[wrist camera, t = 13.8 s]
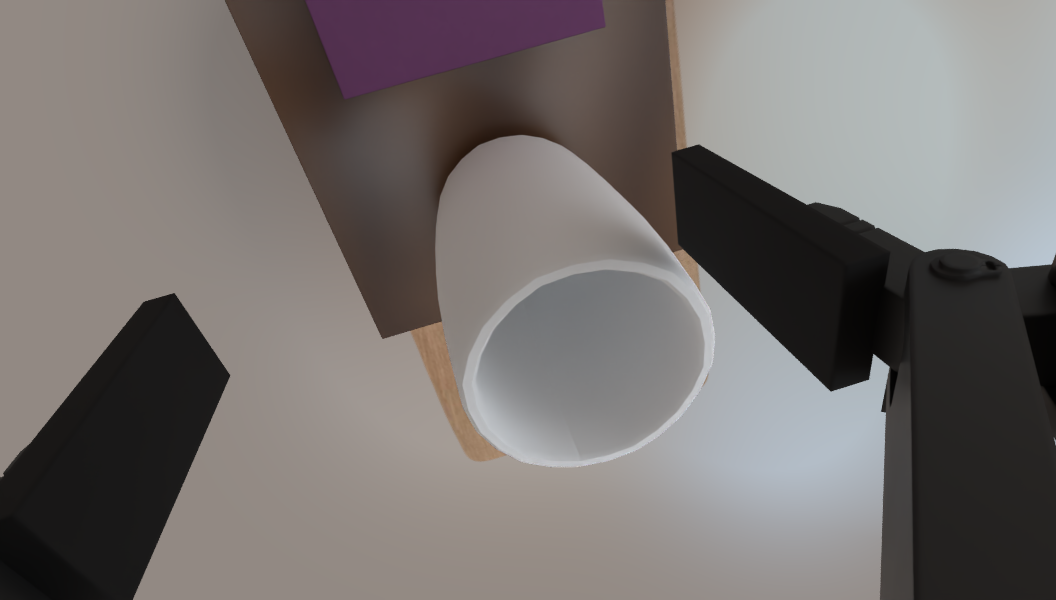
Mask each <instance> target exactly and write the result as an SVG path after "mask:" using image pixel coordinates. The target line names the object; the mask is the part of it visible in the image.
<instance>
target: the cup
mask: <svg viewBox="0 0 1056 600" xmlns="http://www.w3.org/2000/svg"><path fill="white" fill-rule="evenodd" d="M435 257H436V279H437V291H438V301H439V307H440V313H441V318H442V324H443V330H444V335H445V340H446V344H447V348H448V352H449V357H450V361H451V365H452V368H453V372H454V376H455V380H456V384H457V387H458V391H459V395H460V399H461V403H462V406H463V409H464V411H465V413H466V414H467V416H468V418H469V420H470V422H471V423H472V425H473V427H474V429H475V430H476V432H477V433H479V434H480V435H481V436H482V437H483V438H484V439H485V440H486V441H488V442H489V443H490V444H491V445H492V446H493V447H494V448H495V449H497V450H499V451H501V452H503V453H505V454H507V455H508V456H510V457H512V458H514V459H516V460H518V461H520V462H524V463H530V464H536V465H542V466H548V467H580V466H585V465H591V464H595V463H601V462H605V461H609V460H612V459H615V458H618V457H620V456H623V455H626V454H629V453H631V452H634V451H637V450H638V449H640V448H641V447H643V446H644V445H646V444H647V443H649V442H650V441H651V440H653V439H655V438H656V437H658V436H659V435H661V434H662V433H663V432H664V431H665V430H666V429H668V428H669V427H670V426H671V425H672V424H673V423H674V422H675V421H676V420H677V419H678V418H680V417H681V416H682V415H683V413H684V412H685V411H686V409H687V408H688V407H689V405H690V404H691V403H692V401H693V400H694V398H695V397H696V396H697V394H698V393H699V391H700V389H701V387H702V385H703V383H704V381H705V379H706V377H707V375H708V372H709V370H710V368H711V366H712V364H713V357H714V345H715V332H714V327H713V322H712V316H711V310H710V308H709V306H708V305H707V303H706V302H705V300H704V298H703V296H702V295H701V293H700V291H699V289H698V288H697V286H696V285H695V283H694V282H693V280H692V279H691V278H690V276H689V275H688V273H687V272H686V271H685V269H684V268H683V266H682V265H681V264H680V262H679V261H678V259H677V258H676V257H675V255H674V254H673V252H672V251H671V250H670V248H669V247H668V245H667V244H666V243H665V242H664V241H663V240H662V238H661V237H660V236H659V235H658V234H657V232H656V231H655V230H654V229H653V228H652V227H651V225H650V224H649V223H648V222H647V221H646V220H645V218H644V217H643V216H642V215H641V214H640V213H639V212H638V211H637V210H636V209H635V208H634V207H633V206H632V205H631V204H630V203H629V202H628V201H627V200H625V199H624V198H623V197H622V196H621V195H620V194H619V193H618V192H617V191H616V190H615V189H614V188H613V187H612V186H611V185H610V184H609V183H608V182H607V181H606V180H605V179H603V178H602V177H601V176H600V175H599V174H598V173H597V172H596V171H594V170H593V169H592V168H591V167H590V166H589V165H588V164H586V163H585V162H584V161H583V160H581V159H580V158H579V157H577V156H576V155H575V154H573V153H572V152H571V151H569V150H568V149H566V148H565V147H563V146H561V145H559V144H556V143H554V142H551V141H549V140H546V139H544V138H539V137H533V136H526V135H516V136H508V137H500V138H497V139H494V140H491V141H489V142H486V143H483V144H480V145H478V146H477V147H476V148H475V149H473V150H472V151H471V152H470V153H468V154H467V155H466V156H465V157H464V158H462V159H461V161H460V162H459V163H458V164H457V166H456V167H455V168H454V170H453V171H452V172H451V173H450V175H449V176H448V178H447V181H446V183H445V186H444V188H443V190H442V193H441V195H440V201H439V207H438V213H437V222H436V241H435Z"/></svg>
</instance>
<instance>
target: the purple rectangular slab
mask: <svg viewBox="0 0 1056 600" xmlns="http://www.w3.org/2000/svg"><path fill="white" fill-rule="evenodd" d="M305 2H306V4H307V7H308V9H309V12H310V14H311V17H312V19H313V22H314V25H315V27H316V30H317V32H318V35H319V37H320V40H321V42H322V45H323V47H324V50H325V52H326V55H327V57H328V60H329V62H330V65H331V68H332V70H333V73H334V75H335V78H336V80H337V83H338V85H339V88H340V90H341V93H342V95H343V98H344V99H349V98H352V97H356V96H360V95H363V94H367V93H370V92H374V91H378V90H381V89H385V88H388V87H392V86H395V85H399V84H403V83H406V82H410V81H413V80H417V79H421V78H424V77H428V76H431V75H435V74H439V73H442V72H446V71H449V70H453V69H457V68H460V67H464V66H467V65H471V64H474V63H478V62H482V61H485V60H489V59H492V58H496V57H500V56H503V55H507V54H510V53H514V52H518V51H521V50H525V49H528V48H532V47H535V46H539V45H543V44H546V43H550V42H553V41H557V40H561V39H564V38H568V37H571V36H575V35H579V34H582V33H586V32H589V31H593V30H596V29H600V28H604V27H605V26H606V25H605V17H604V10H603V2H602V0H305Z"/></svg>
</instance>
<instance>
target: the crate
mask: <svg viewBox="0 0 1056 600" xmlns="http://www.w3.org/2000/svg"><path fill="white" fill-rule="evenodd" d="M225 2H226V4H227V6H228V8H229V10H230V12H231V14H232V17H233V19H234V21H235V23H236V25H237V27H238V29H239V32H240V34H241V36H242V38H243V40H244V43H245V45H246V47H247V49H248V51H249V53H250V55H251V58H252V60H253V62H254V64H255V66H256V68H257V71H258V73H259V74H260V77H261V79H262V81H263V83H264V86H265V88H266V90H267V92H268V94H269V96H270V98H271V101H272V103H273V105H274V107H275V109H276V111H277V113H278V116H279V118H280V120H281V122H282V124H283V126H284V128H285V131H286V133H287V135H288V137H289V139H290V141H291V143H292V146H293V148H294V150H295V152H296V154H297V156H298V159H299V161H300V163H301V165H302V167H303V169H304V171H305V173H306V176H307V178H308V180H309V182H310V184H311V186H312V189H313V191H314V193H315V195H316V197H317V199H318V201H319V204H320V206H321V208H322V210H323V212H324V214H325V217H326V219H327V221H328V223H329V225H330V227H331V229H332V232H333V234H334V236H335V238H336V240H337V242H338V245H339V247H340V249H341V251H342V253H343V255H344V257H345V259H346V262H347V264H348V266H349V268H350V270H351V272H352V274H353V277H354V279H355V281H356V283H357V285H358V288H359V290H360V292H361V294H362V296H363V298H364V300H365V303H366V305H367V307H368V309H369V311H370V313H371V315H372V318H373V320H374V322H375V324H376V326H377V328H378V331H379V333H380V335H381V337H382V338H383V339H384V338H387V337H390V336H394V335H397V334H400V333H404V332H407V331H411V330H414V329H417V328H421V327H424V326H427V325H431V324H434V323H437V322H441V321H442V318H441V313H440V307H439V301H438V291H437V279H436V257H435V241H436V222H437V213H438V207H439V201H440V195H441V193H442V190H443V188H444V186H445V183H446V181H447V178H448V176H449V175H450V173H451V172H452V171H453V170H454V168H455V167H456V166H457V164H458V163H459V162H460V161H461V159H462V158H464V157H465V156H466V155H467V154H468V153H470V152H471V151H472V150H473V149H475V148H476V147H477V146H478V145H480V144H483V143H486V142H489V141H491V140H494V139H497V138H500V137H508V136H516V135H526V136H533V137H539V138H544V139H546V140H549V141H551V142H554V143H556V144H559V145H561V146H563V147H565V148H566V149H568V150H569V151H571V152H572V153H573V154H575V155H576V156H577V157H579V158H580V159H581V160H583V161H584V162H585V163H586V164H588V165H589V166H590V167H591V168H592V169H593V170H594V171H596V172H597V173H598V174H599V175H600V176H601V177H602V178H603V179H605V180H606V181H607V182H608V183H609V184H610V185H611V186H612V187H613V188H614V189H615V190H616V191H617V192H618V193H619V194H620V195H621V196H622V197H623V198H624V199H625V200H627V201H628V202H629V203H630V204H631V205H632V206H633V207H634V208H635V209H636V210H637V211H638V212H639V213H640V214H641V215H642V216H643V217H644V218H645V220H646V221H647V222H648V223H649V224H650V225H651V227H652V228H653V229H654V230H655V231H656V232H657V234H658V235H659V236H660V237H661V238H662V240H663V241H664V242H665V243H666V244H667V245H668V247H669V248H670V250H671V251H672V252H675V251H679V250H682V249H683V248H682V247H680V246H679V245H678V237H677V223H676V209H675V195H674V182H673V168H672V154H671V152H674V151H677V143H676V130H675V118H674V105H673V93H672V80H671V67H670V55H669V42H668V29H667V17H666V4H665V0H602V2H603V10H604V17H605V25H606V26H605V27H604V28H600V29H596V30H593V31H589V32H586V33H582V34H579V35H575V36H571V37H568V38H564V39H561V40H557V41H553V42H550V43H546V44H543V45H539V46H535V47H532V48H528V49H525V50H521V51H518V52H514V53H510V54H507V55H503V56H500V57H496V58H492V59H489V60H485V61H482V62H478V63H474V64H471V65H467V66H464V67H460V68H457V69H453V70H449V71H446V72H442V73H439V74H435V75H431V76H428V77H424V78H421V79H417V80H413V81H410V82H406V83H403V84H399V85H395V86H392V87H388V88H385V89H381V90H378V91H374V92H370V93H367V94H363V95H360V96H356V97H352V98H349V99H344V98H343V95H342V93H341V90H340V88H339V85H338V83H337V80H336V78H335V75H334V73H333V70H332V68H331V65H330V62H329V60H328V57H327V55H326V52H325V50H324V47H323V45H322V42H321V40H320V37H319V35H318V32H317V30H316V27H315V25H314V22H313V19H312V17H311V14H310V12H309V9H308V7H307V4H306V2H305V0H225Z"/></svg>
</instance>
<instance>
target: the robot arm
mask: <svg viewBox="0 0 1056 600" xmlns="http://www.w3.org/2000/svg"><path fill="white" fill-rule="evenodd" d="M671 154H672V168H673V182H674V195H675V209H676V223H677V237H678V245H679V246H680V247H682V248H683V249H684V250H685V251H686V252H687V253H688V254H689V255H690V256H691V257H692V258H693V259H694V260H695V261H696V262H697V263H698V264H699V265H700V266H701V267H702V268H703V269H704V270H705V271H706V272H708V274H710V275H711V276H712V277H713V278H714V279H715V280H716V281H717V282H718V283H719V284H720V285H721V286H722V287H723V288H724V289H725V290H726V291H727V292H728V293H729V294H730V295H731V296H732V297H733V298H734V299H735V300H737V301H738V302H739V303H740V304H741V305H742V306H743V307H744V308H745V309H746V310H747V311H748V312H749V313H750V314H751V315H752V316H753V317H754V318H755V319H756V320H757V321H758V322H759V323H760V324H761V325H763V327H765V328H766V329H767V330H768V331H769V332H770V333H771V334H772V335H773V336H774V337H775V338H776V339H777V340H778V341H779V342H780V343H781V344H782V345H783V346H784V347H785V348H786V349H787V350H788V351H789V352H791V353H792V354H793V355H794V356H795V357H796V358H797V359H798V360H799V361H800V362H801V363H802V364H803V365H804V366H805V367H806V368H807V369H808V370H809V371H810V372H811V373H812V374H813V375H814V376H815V377H816V378H817V379H819V381H821V382H822V383H823V384H824V385H825V386H826V387H827V388H828V389H829V390H830V391H834V390H837V389H841V388H844V387H847V386H850V385H853V384H856V383H859V382H863V381H866V380H869V376H870V370H871V364H872V358H873V354H874V355H876V356H877V357H878V358H879V359H881V360H882V361H883V362H884V363H886V364H887V365H888V366H889V367H890V368H889V373H888V379H887V384H886V389H885V394H884V399H883V405H882V410H881V412H886V428H885V429H886V430H885V459H884V492H883V493H884V494H883V523H882V525H883V526H882V556H881V588H880V600H1056V445H1055V441H1054V438H1055V440H1056V255H1055V258H1054V260H1053V263H1052V265H1042V266H1030V267H1019V268H1008V267H1007V266H1006V264H1005V263H1003V262H1001V261H999V260H998V259H995V258H994V257H992V256H989V255H985V254H982V253H979V252H975V251H968V250H960V249H938V250H933V251H929V252H923V251H921V250H919V249H917V248H916V247H914V246H912V245H910V244H908V243H906V242H904V241H902V240H900V239H898V238H897V237H895V236H893V235H891V234H889V233H887V232H885V231H883V230H881V229H879V228H876V229H875V227H874V225H871V224H870V223H868V222H866V221H864V220H859V218H858V217H857V216H854V215H852V214H851V213H849V212H847V211H845V210H843V209H841V208H837V207H833V206H829V205H825V204H821V203H812V204H809V205H806V204H804V203H803V202H801V201H799V200H797V199H795V198H793V197H792V196H790V195H788V194H786V193H785V192H783V191H781V190H779V189H777V188H776V187H774V186H772V185H770V184H769V183H767V182H765V181H763V180H761V179H759V178H758V177H756V176H754V175H752V174H751V173H749V172H747V171H745V170H743V169H742V168H740V167H738V166H736V165H735V164H733V163H731V162H729V161H727V160H726V159H724V158H722V157H720V156H718V155H717V154H715V153H713V152H711V151H709V150H708V149H706V148H704V147H702V146H701V145H695V146H692V147H688V148H685V149H681V150H678V151H674V152H671ZM229 377H230V374H229V373H228V371H227V370H226V368H225V367H224V365H223V364H222V362H221V361H220V360H219V358H218V357H217V355H216V354H215V352H214V351H213V349H212V348H211V346H210V345H209V343H208V342H207V340H206V339H205V337H204V336H203V334H202V333H201V332H200V330H199V329H198V327H197V326H196V324H195V323H194V321H193V320H192V318H191V317H190V316H189V314H188V312H187V311H186V310H185V308H184V307H183V305H182V304H181V302H180V301H179V299H178V298H177V296H176V295H175V293H173V294H170V295H166V296H163V297H159V298H156V299H152V300H148V301H145V302H143V303H142V305H141V306H140V308H139V309H138V310H137V311H136V312H135V314H134V315H133V316H132V317H131V318H130V320H129V321H128V322H127V323H126V325H125V326H124V327H123V329H122V330H121V331H120V332H119V333H118V335H117V336H116V337H115V338H114V340H113V341H112V342H111V343H110V345H109V346H108V347H107V349H106V350H105V351H104V352H103V353H102V355H101V356H100V357H99V358H98V360H97V361H96V362H95V363H94V365H93V366H92V367H91V368H90V370H89V371H88V372H87V373H86V375H85V376H84V377H83V378H82V379H81V381H80V382H79V383H78V385H77V386H76V387H75V388H74V389H73V391H72V392H71V393H70V394H69V396H68V397H67V398H66V399H65V401H64V402H63V403H62V405H61V406H60V407H59V408H58V409H57V411H56V412H55V413H54V414H53V416H52V417H51V418H50V419H49V421H48V422H47V423H46V424H45V426H44V427H43V428H42V429H41V431H40V432H39V433H38V434H37V436H36V437H35V438H34V439H33V441H32V442H31V443H30V444H29V445H28V446H27V447H26V448H24V449H23V450H22V451H21V452H20V453H19V454H18V456H17V457H16V458H15V460H14V461H13V462H12V463H11V464H10V465H9V467H8V468H7V469H6V470H5V472H4V473H3V474H4V477H0V600H133V598H134V595H135V593H136V591H137V588H138V586H139V584H140V581H141V579H142V577H143V575H144V572H145V570H146V568H147V566H148V563H149V561H150V559H151V556H152V554H153V552H154V549H155V547H156V545H157V543H158V540H159V538H160V535H161V533H162V531H163V529H164V526H165V524H166V522H167V519H168V517H169V515H170V512H171V510H172V508H173V506H174V503H175V501H176V499H177V497H178V494H179V492H180V490H181V487H182V484H183V483H184V480H185V478H186V476H187V474H188V471H189V469H190V467H191V464H192V462H193V460H194V457H195V455H196V453H197V451H198V448H199V446H200V444H201V441H202V439H203V437H204V434H205V432H206V430H207V428H208V425H209V423H210V421H211V418H212V416H213V414H214V412H215V409H216V407H217V405H218V403H219V400H220V398H221V396H222V393H223V391H224V389H225V386H226V384H227V382H228V379H229Z"/></svg>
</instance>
